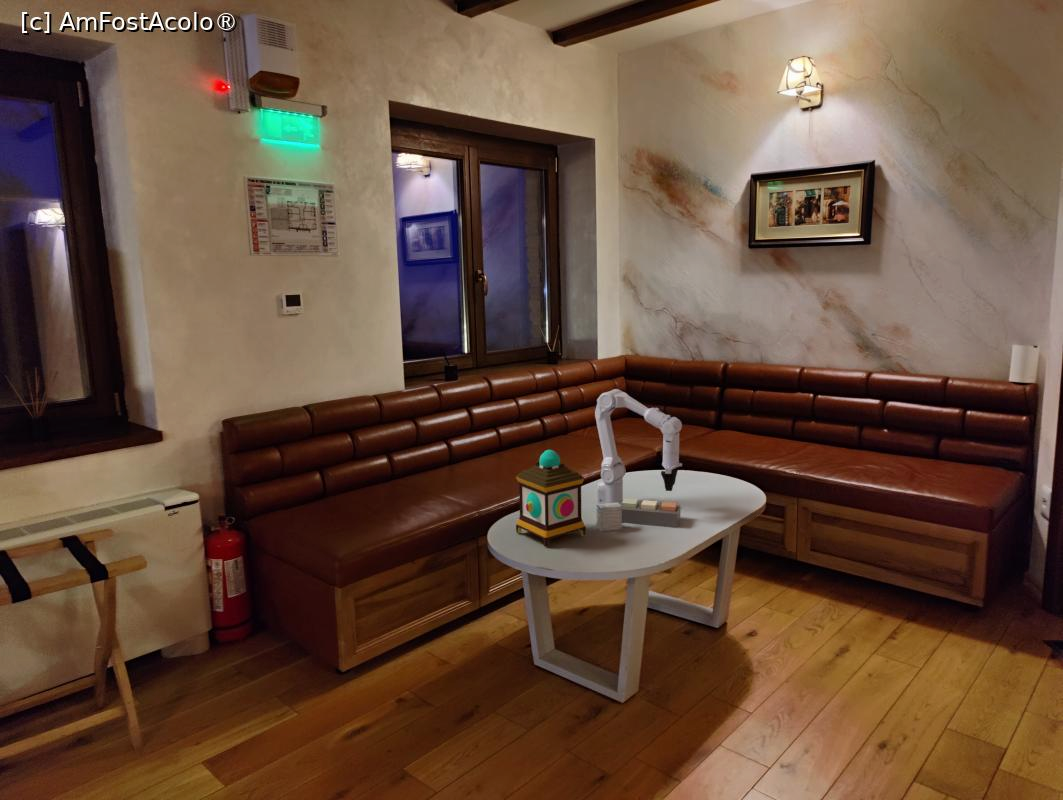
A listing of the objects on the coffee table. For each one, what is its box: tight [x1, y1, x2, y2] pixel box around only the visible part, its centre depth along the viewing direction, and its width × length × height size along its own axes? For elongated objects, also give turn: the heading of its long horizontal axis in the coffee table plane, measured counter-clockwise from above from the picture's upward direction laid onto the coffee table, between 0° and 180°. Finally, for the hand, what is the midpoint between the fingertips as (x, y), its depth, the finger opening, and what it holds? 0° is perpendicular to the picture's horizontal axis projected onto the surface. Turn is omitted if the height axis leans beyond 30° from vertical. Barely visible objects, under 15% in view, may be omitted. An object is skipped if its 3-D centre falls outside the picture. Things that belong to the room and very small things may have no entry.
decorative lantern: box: [515, 449, 587, 548], centre depth 249 cm, size 20×20×30 cm
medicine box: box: [596, 503, 623, 532], centre depth 255 cm, size 8×4×9 cm, turn 102°
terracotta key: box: [661, 501, 678, 512], centre depth 261 cm, size 5×5×3 cm
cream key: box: [641, 499, 658, 510], centre depth 263 cm, size 5×5×3 cm
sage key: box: [622, 498, 639, 508], centre depth 265 cm, size 5×5×3 cm
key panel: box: [620, 500, 682, 529], centre depth 263 cm, size 21×10×5 cm, turn 72°
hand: (670, 487), depth 268 cm, fingers open, 7 cm apart
